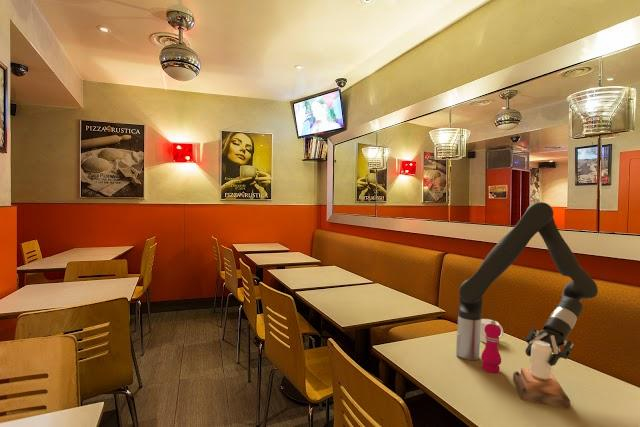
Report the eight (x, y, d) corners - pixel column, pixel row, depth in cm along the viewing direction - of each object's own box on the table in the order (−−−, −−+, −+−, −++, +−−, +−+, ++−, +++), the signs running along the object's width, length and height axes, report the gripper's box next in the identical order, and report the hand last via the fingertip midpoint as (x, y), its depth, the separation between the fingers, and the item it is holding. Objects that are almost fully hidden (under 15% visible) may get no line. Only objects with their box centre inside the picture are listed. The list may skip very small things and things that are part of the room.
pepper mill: (499, 367, 141) (501, 319, 140) (502, 375, 134) (505, 324, 133) (479, 364, 143) (482, 316, 142) (481, 371, 136) (484, 321, 136)
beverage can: (528, 376, 121) (529, 342, 121) (531, 370, 126) (533, 338, 125) (548, 383, 117) (550, 348, 117) (552, 376, 122) (553, 343, 121)
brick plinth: (520, 399, 117) (521, 382, 117) (513, 380, 130) (513, 364, 130) (569, 409, 112) (570, 391, 112) (556, 388, 126) (557, 372, 125)
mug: (480, 343, 165) (481, 324, 165) (475, 336, 174) (475, 318, 174) (507, 345, 164) (508, 326, 163) (500, 338, 173) (501, 320, 172)
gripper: (536, 310, 130) (514, 345, 126) (578, 323, 117) (555, 362, 113) (544, 323, 133) (523, 357, 128) (586, 336, 120) (564, 375, 115)
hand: (538, 359), depth 120 cm, fingers open, 7 cm apart
